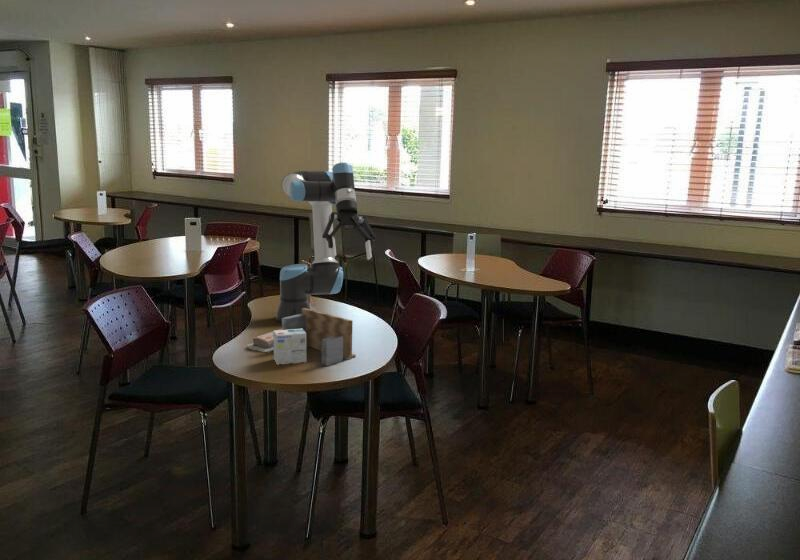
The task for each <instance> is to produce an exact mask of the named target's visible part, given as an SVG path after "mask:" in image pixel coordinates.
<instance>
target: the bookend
mask: <svg viewBox="0 0 800 560" xmlns="http://www.w3.org/2000/svg"><path fill="white" fill-rule="evenodd" d="M343 361H344V358H343V336H341V335H335V336H332V337H328V338H325V339H322V351H321V365H322V366H325V367H328V366H331V365H335V364H337V363H341V362H343Z"/></svg>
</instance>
